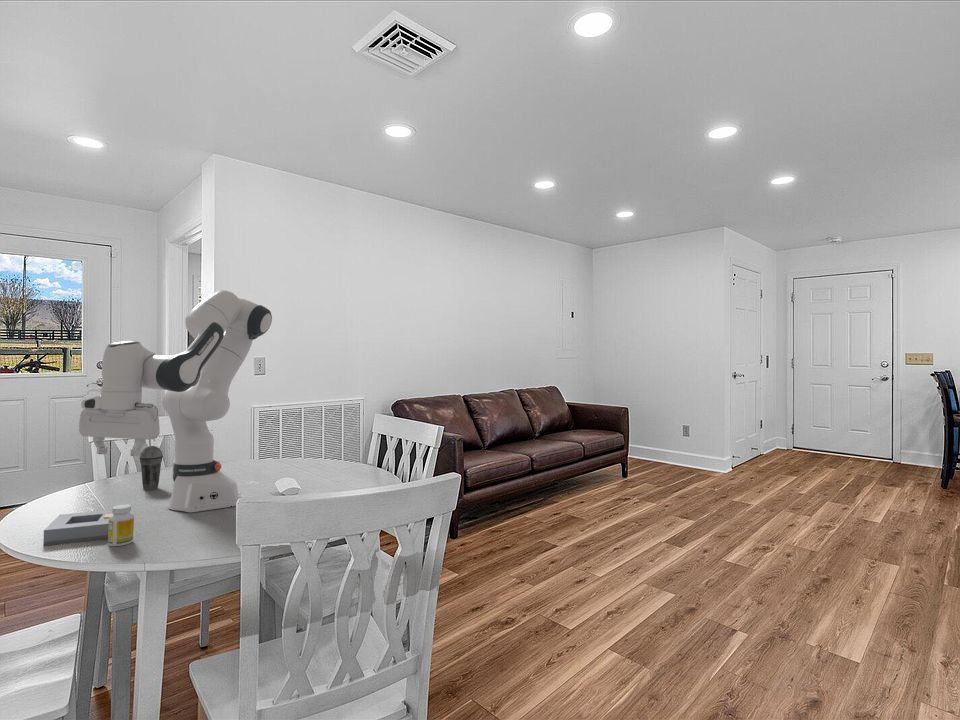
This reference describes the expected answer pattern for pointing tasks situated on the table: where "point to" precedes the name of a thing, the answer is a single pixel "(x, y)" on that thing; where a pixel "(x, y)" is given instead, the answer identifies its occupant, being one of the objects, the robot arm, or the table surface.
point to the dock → (78, 527)
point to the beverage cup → (150, 466)
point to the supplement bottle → (120, 526)
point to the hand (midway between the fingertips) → (118, 455)
